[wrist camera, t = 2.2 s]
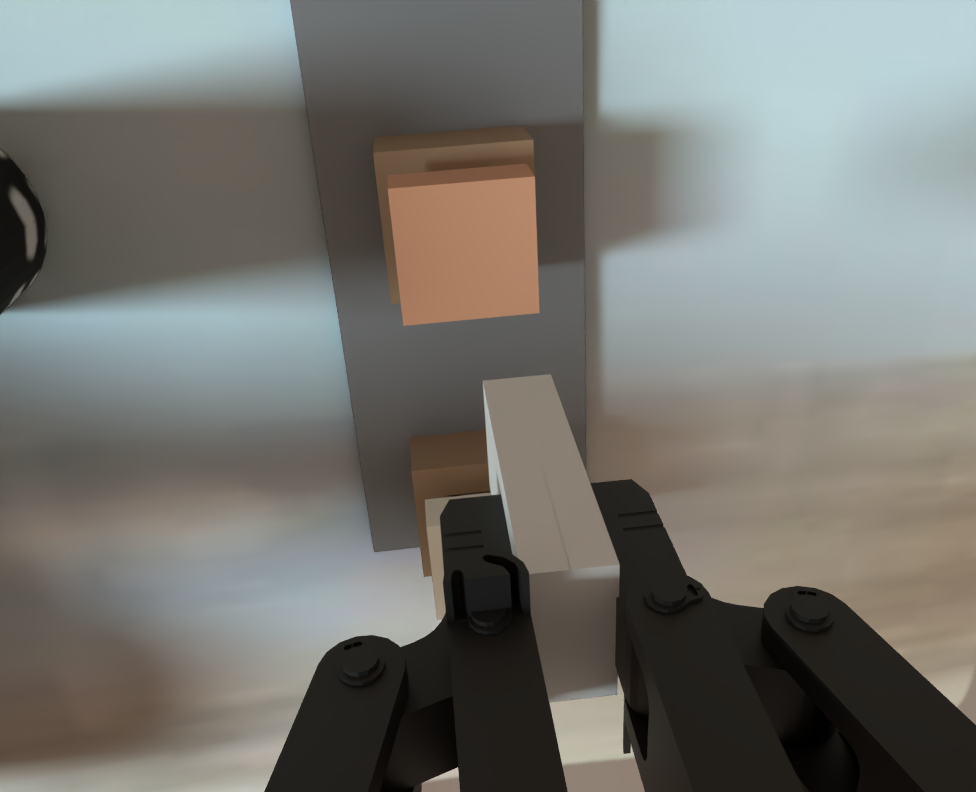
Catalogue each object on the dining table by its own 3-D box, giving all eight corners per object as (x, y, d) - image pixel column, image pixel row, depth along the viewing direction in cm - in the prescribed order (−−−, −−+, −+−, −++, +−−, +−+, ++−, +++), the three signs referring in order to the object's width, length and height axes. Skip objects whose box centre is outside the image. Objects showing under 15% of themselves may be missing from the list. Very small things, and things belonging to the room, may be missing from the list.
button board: (374, 542, 44) (372, 590, 41) (245, -313, 28) (225, -349, 25) (583, 519, 45) (598, 565, 42) (575, -329, 29) (599, -366, 26)
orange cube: (401, 278, 36) (403, 325, 31) (388, 156, 33) (387, 188, 29) (520, 267, 36) (539, 313, 31) (515, 146, 34) (534, 176, 29)
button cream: (432, 548, 42) (437, 619, 38) (422, 461, 40) (426, 526, 35) (532, 536, 42) (549, 606, 38) (528, 450, 40) (546, 513, 36)
